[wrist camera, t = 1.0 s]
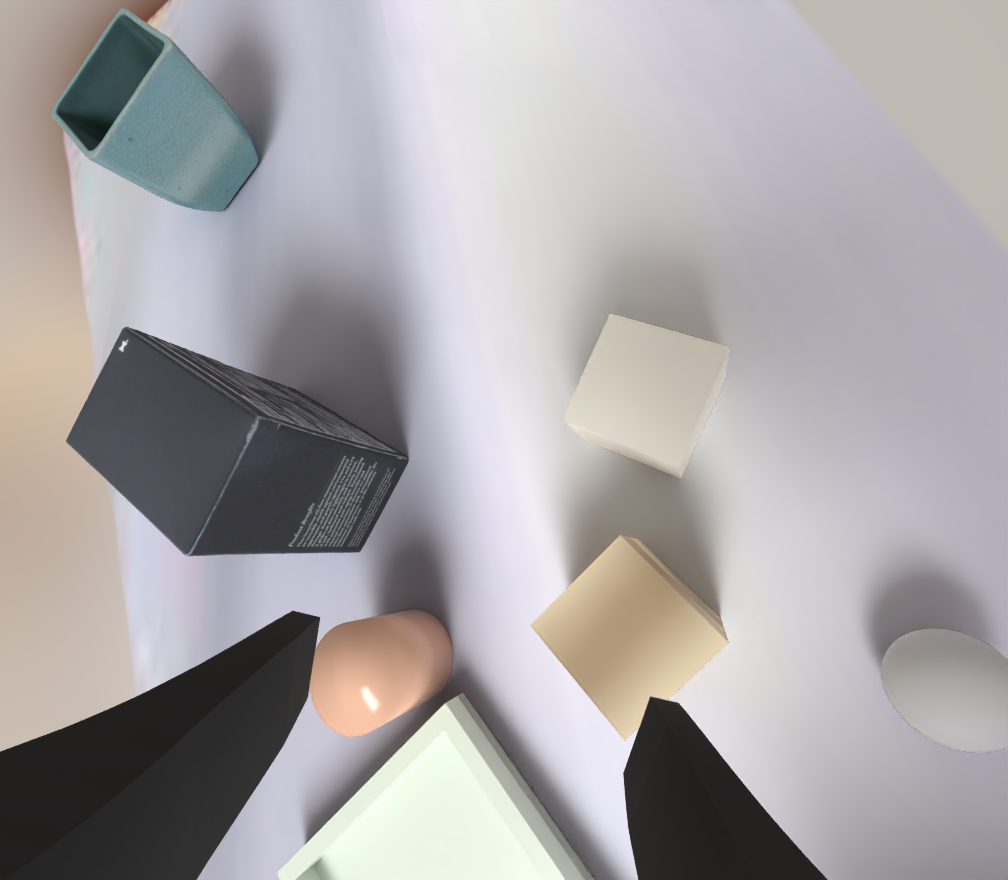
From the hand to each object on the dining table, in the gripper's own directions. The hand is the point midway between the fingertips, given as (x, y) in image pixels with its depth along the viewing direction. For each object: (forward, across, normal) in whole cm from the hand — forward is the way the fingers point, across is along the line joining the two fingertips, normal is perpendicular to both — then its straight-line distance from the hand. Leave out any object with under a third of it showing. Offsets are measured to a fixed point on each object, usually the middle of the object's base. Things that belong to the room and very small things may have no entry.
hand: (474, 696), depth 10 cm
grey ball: (+6, -15, 0) cm, 16 cm away
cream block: (+15, -6, -5) cm, 17 cm away
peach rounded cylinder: (+13, +3, +9) cm, 16 cm away
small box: (+19, +11, +3) cm, 22 cm away
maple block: (+11, -7, +3) cm, 13 cm away
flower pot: (+33, +27, -14) cm, 45 cm away
